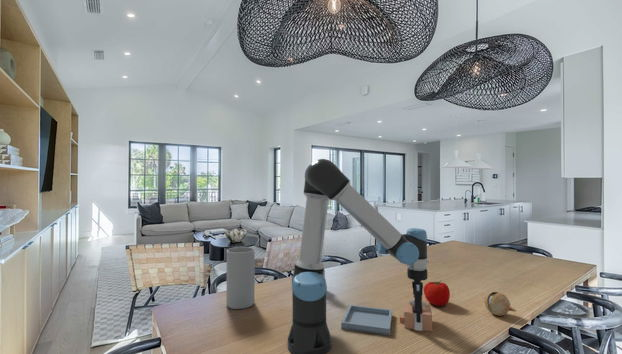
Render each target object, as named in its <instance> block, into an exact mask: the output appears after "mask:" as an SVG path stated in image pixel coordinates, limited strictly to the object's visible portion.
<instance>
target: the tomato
mask: <svg viewBox="0 0 622 354" xmlns="http://www.w3.org/2000/svg"><path fill="white" fill-rule="evenodd" d="M442 281H443V280H442V279H441V280H440V281H428V282H427V283H426V284H425V285H423V294H424V297H425V299H426V300H427V302H429V304H430V305H431V304H432V305H433V306H437V307H440V306H445V305H447V304H448V303H449V301H450V297H451V295H450V294H451V292H450V291H451V290H450V288H449V286H448V285H447V284H446V283H444V282H442Z"/></svg>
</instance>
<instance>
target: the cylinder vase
mask: <svg viewBox="0 0 622 354" xmlns="http://www.w3.org/2000/svg"><path fill="white" fill-rule="evenodd" d="M225 303H226V306H227V308H229V309H233V310H245V309H247V308H250V307H252V306H253V305H254V303H255V248H254V247H251V246H250V247H249V246H235V247H231V248H227V249H226V302H225Z"/></svg>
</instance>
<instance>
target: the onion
mask: <svg viewBox="0 0 622 354" xmlns="http://www.w3.org/2000/svg"><path fill="white" fill-rule="evenodd" d="M484 304H485V306H484V308H486V309H487V310H488V311H489V313H491V314H492V315H495V316H498V317H501V316H502V317H503V316H505V315H507V314H508V313H509V311H510V312H517V310H516V309H515V308H514V307H512V306H511V302H510V300H509V298H508V297H507V296H506V295H505V293H502V292H501V291H500V292H497V291H493V292H492V291H491V292H490V293H488V294H487V295H486V296H485V297H484Z"/></svg>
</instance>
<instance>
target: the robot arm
mask: <svg viewBox="0 0 622 354" xmlns="http://www.w3.org/2000/svg"><path fill="white" fill-rule="evenodd" d="M303 185H304V186H303V195H304V196H305V197H306V203H305V209H304V210H305V211H304V217H303V224H302V225H303V226H302V232H301V233H302V234H301V240H300V242H301V244H300V249H299V250H300V251H299V258H298V259H297V260H296V261H295V262H294V267H293V274H292V276H291V277H292V278H291V290H292V293H291V294H292V297H291V298H292V324H291V327H290V329H289V333H288V336H287V339H286V340H287V341H286V342H287V345H286V346H287V349H288V351H289V352H291V354H327V353H328V352H329V351H330V350H331V348H332V345H333V344H332V335H331V332H330V330H329V327H328V324H327V289H328V286H327V285H328V284H327V281H326V277H325V278H324V276H323V275H324V270H325V265H324V264H323V263H322V257H323V256H322V255H323V250H324V242H325V241H324V240H325V232H326V226H327V225H326V224H327V217H328V216H327V215H328V207H329V201H335V202H336V203H338V205H340V206H341V207H342V208H343V209H344V210H345V212H347V213H348V214H349V216H351V217H352V218H353V219H354V220H355V221H356V222H357V223H359V224H360V225H361V227H363V228H364V230H365V231H367V232H368V233H369V234H370V235H371V236H372V237H373V238H374V239H375V240H376V250H377V252H378V253H379V254H381V255H390V256H392V257H393V258H395V259H396V260H397V261H399V263H401V264H404V265H406V266H407V272H406V274H407V278H408V279H409V280H413V281H411V284H412V285H411V286H412V295H413V301H415V311H413V313H415V329H414V331H418V332H419V331H420V332H423V330H422V313H423V312H422V302H423V294H424V291H423V290H424V283H423V282H422V281H426V280H428V269H427V268H428V263H429V260H428V234H427V231H426V230H425V229H424V228H416V227H415V228H407V230H406V233H404V234H401V232H400V231H399V230H398V229H396V228H395V226H394V225H392V224H391V223H390V221H388V219H387V218H385V217H384V216H383V214H381V212H379V211H378V210H377V209H376V207H374V206H373V205H372V204H371V203H370V202H369V201H368V200H366V198H365V197H364V196H362V195H361V194H360V193H359V192H358V191H357V190H356V189H355V188H354V187H353V186H352V185H351V180H350V179H349V178H348V177H347V176H346V175H345V174H344V173H343V172H342V171H341V169H340V168H338V166H337V165H336V164H335V163H334V162H333V161H332V160H329V159H326V158H320V159H316V160H314V161H313V162H311V163H310V164H309V165H308V166H307V167H306V169H305V171H304V184H303ZM417 309H418V310H417Z"/></svg>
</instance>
